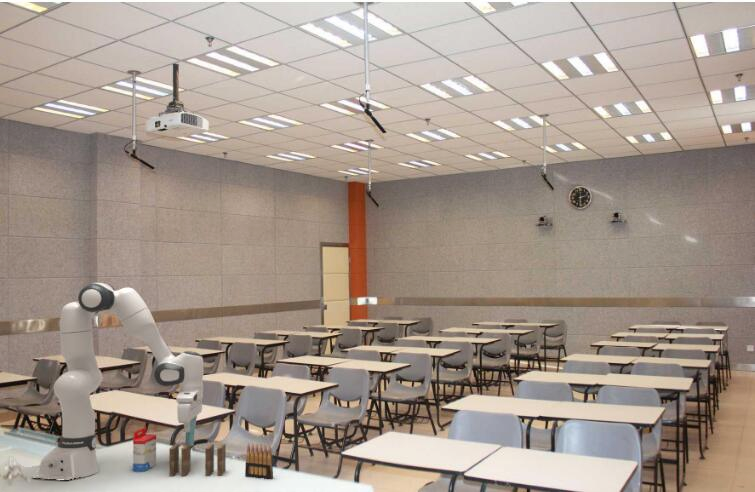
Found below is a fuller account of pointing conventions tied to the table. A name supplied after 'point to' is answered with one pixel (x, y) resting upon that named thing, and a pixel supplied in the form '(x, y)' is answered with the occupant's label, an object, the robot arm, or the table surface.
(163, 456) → the table surface
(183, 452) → the domino
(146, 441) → the ink box
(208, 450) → the domino
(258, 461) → the pencil set
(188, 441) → the domino
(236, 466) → the table surface
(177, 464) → the domino
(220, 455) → the domino
